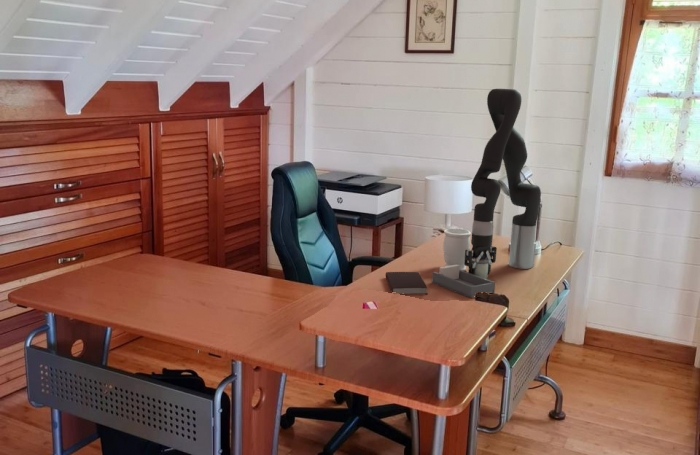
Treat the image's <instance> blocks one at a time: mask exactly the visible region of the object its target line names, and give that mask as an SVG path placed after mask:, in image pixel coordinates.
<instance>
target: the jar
mask: <svg viewBox="0 0 700 455" xmlns="http://www.w3.org/2000/svg"><path fill="white" fill-rule="evenodd" d="M443 232H444V238H443V246H442V247H443V248H442V250H443V251H442V252H443V259H444V262H445V265H444V267H445V266H451V265H460V270H462V271H465V270H467V266H465V265H464V263H465V250H471V237H470V236H472V231H470V230H468V229H463V228H447V229H444V231H443Z"/></svg>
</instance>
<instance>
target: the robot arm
mask: <svg viewBox="0 0 700 455" xmlns="http://www.w3.org/2000/svg"><path fill="white" fill-rule="evenodd" d="M486 101H487V103H486V104H487V109H488V110H487V111H488V112H489V116H490V118H491V121H492V124H493V126H494V129H495V132H494V134H493V135H492V137H490V139H489V140H488V141H487V143H486V144H485V147H484V150H483V153H482V154H483V155H482V159H481V163H480V166H479V167H478V170H477V172H476V173H475V176H474V177H473V179H472V182H471V184H470V189H471V190H470V191H471V193H472V194H473V195H474V196H476V197H480V198H485V201H484V202H481V203H477V204H475V205H474V210H473V222H472V226H471V238H470V245H471V246H472V248H471V249H470V250H465V263H464V265H465V266H466V267H468V271H467V272H468V273H471V274H474V275H475V268H474V267H475V266H476V264H477V263H478V262H479V260H482V259H485V258H487V259H489V264H488V275H490V274H491V267H492V265H493V263H495V262H496V261H497V260H496V259H497V249H498V248H497V246H493V238H494V237H493V236H494V217H495V216H494V214H495V209H496V206H497V202H498V199H499V197H500V194H501V190H502V189H501V188H502V187H501V183H500V182H499V181H498V179H496V178H489V176H490V175H491V174H495V173H498V172H500V170H501V167H502V163H503V164H504V167H505V168H504V169H505V172H506V173H505V174H506V178H507V186H508V187H507V188H508V194H509V199H510V201H511V203H512V204H513V205H514V206H517V207H521V208H522V207H523V208H525V210H524V212H523V213H520V214H516V215H514V216H512V222H511V235H510V246H509V247H510V248H509V255H508V256H509V259H508V266H509V267H511V268H514V269H521V270H525V269H526V270H527V269H531V268H533V267H534V266H535V258H536V248H537V243H536V241H535V240H536V232H537V230H536V228H537V222H538V221H537V220H538V218H539V211H540V204H541V198H542V190H541V188H540V186H538V185H537V184H532V183H526V182H525V183H523V182H522V179H521V172H522V170H523V168H524V166H525V165H526V163H527V159H528V151H527V147H526V146H527V145H526V142H525V139H524V137H523V136H522V135H521V133H520V132H519V131H518V130H517V129H516V128H515V127H514V126H515V124H516V122H517V118H518V115H519V112H520V109H521V106H522V94H521V92H520V91H519V90H518V89H513V88H492V89H491V90H490V91H489V92H488V94H487V98H486ZM474 258H475V259H474ZM472 263H473V264H472Z"/></svg>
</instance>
